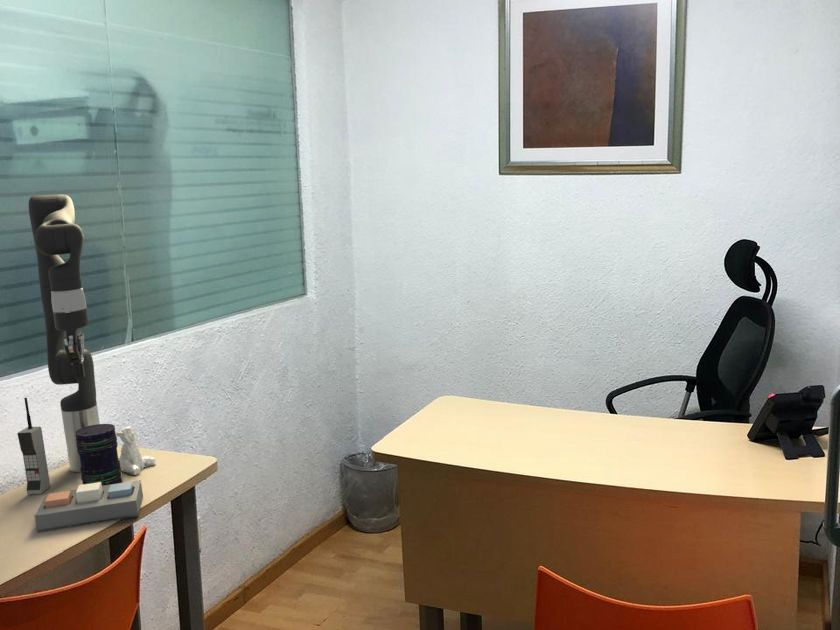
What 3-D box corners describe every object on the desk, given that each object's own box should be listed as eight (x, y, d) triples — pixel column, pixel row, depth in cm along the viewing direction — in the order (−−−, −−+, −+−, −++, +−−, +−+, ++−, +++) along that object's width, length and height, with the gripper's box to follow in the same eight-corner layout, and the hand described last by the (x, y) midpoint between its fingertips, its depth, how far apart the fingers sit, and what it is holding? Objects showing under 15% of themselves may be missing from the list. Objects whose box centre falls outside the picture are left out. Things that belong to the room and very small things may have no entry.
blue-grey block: (112, 498, 204) (110, 484, 203) (134, 495, 205) (132, 481, 204) (110, 506, 199) (108, 492, 198) (132, 502, 200) (130, 488, 200)
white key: (81, 498, 202) (79, 485, 201) (103, 495, 203) (101, 481, 203) (78, 506, 197) (75, 492, 197) (100, 503, 198) (98, 489, 198)
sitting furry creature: (136, 476, 224) (130, 433, 222) (109, 474, 227) (103, 432, 225) (157, 463, 233) (152, 422, 231) (131, 462, 236) (125, 421, 234)
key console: (48, 509, 205) (46, 493, 204) (142, 495, 210) (140, 480, 209) (37, 532, 192) (34, 515, 191) (138, 516, 196) (135, 500, 196)
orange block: (50, 507, 201) (48, 493, 200) (73, 504, 202) (70, 490, 201) (46, 515, 196) (44, 501, 195) (69, 512, 197) (67, 498, 196)
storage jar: (106, 475, 227) (98, 422, 224) (130, 480, 222) (123, 425, 219) (74, 488, 218) (66, 433, 216) (99, 493, 213) (91, 437, 211)
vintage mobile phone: (26, 495, 216) (11, 401, 212) (37, 487, 221) (22, 395, 217) (40, 494, 216) (26, 400, 211) (50, 487, 221) (36, 395, 216)
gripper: (57, 306, 207) (67, 374, 210) (47, 314, 194) (58, 386, 197) (90, 302, 208) (99, 370, 211) (82, 310, 196) (92, 382, 199)
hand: (79, 378), depth 204 cm, fingers closed
